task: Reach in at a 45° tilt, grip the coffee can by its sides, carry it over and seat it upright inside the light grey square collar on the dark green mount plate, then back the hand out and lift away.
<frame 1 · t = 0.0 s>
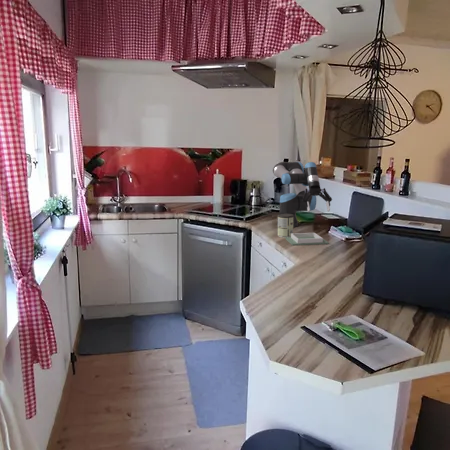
hand: (318, 211, 268), 15 cm above the worktop, tool tilted 35°, fingers open, 13 cm apart
mount plate: (306, 241, 250), on the worktop
coffee can: (285, 236, 266), on the worktop
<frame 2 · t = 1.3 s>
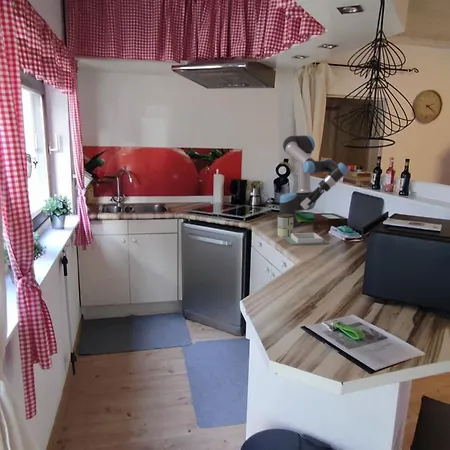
hand: (302, 207, 261), 19 cm above the worktop, tool tilted 45°, fingers open, 13 cm apart
nothing on the worktop moved.
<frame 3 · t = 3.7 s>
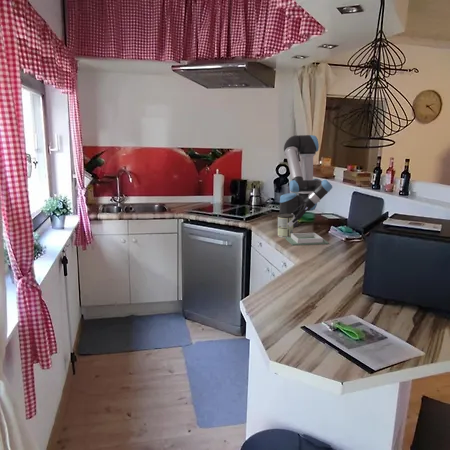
hand: (287, 223, 262), 8 cm above the worktop, tool tilted 45°, fingers open, 13 cm apart
nothing on the worktop moved.
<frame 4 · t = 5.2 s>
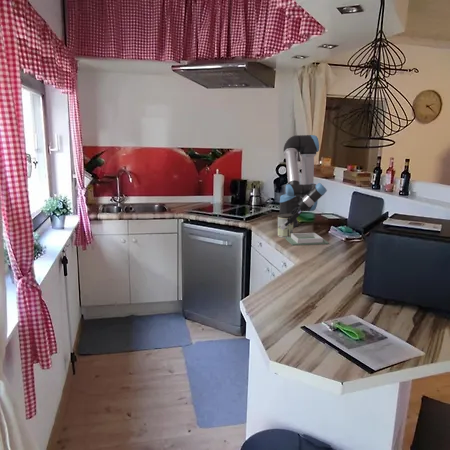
hand: (280, 227, 264), 6 cm above the worktop, tool tilted 45°, fingers closed on coffee can, 10 cm apart
coffee can: (285, 236, 265), on the worktop, touching gripper
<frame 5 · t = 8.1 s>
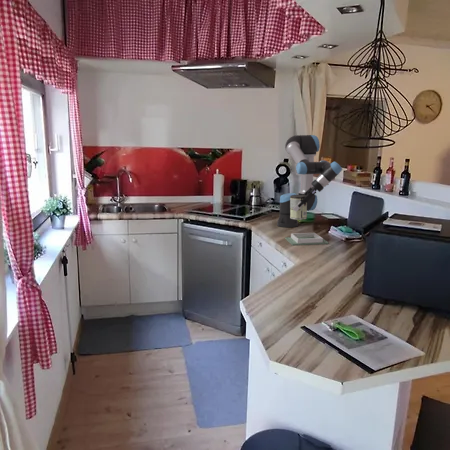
hand: (293, 209, 251), 20 cm above the worktop, tool tilted 45°, fingers closed on coffee can, 10 cm apart
coffee can: (298, 218, 252), point 14 cm above the worktop, touching gripper
when the fingers open (8 cm above the worktop, at t = 10.9 s): coffee can drops 1 cm, resting on mount plate.
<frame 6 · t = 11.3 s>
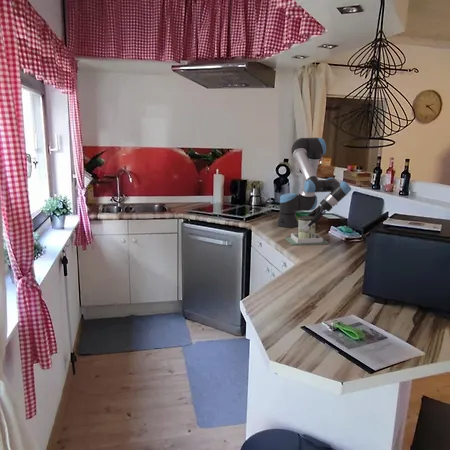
hand: (302, 227, 249), 9 cm above the worktop, tool tilted 45°, fingers open, 13 cm apart
coffee can: (306, 240, 250), point 1 cm above the worktop, touching mount plate
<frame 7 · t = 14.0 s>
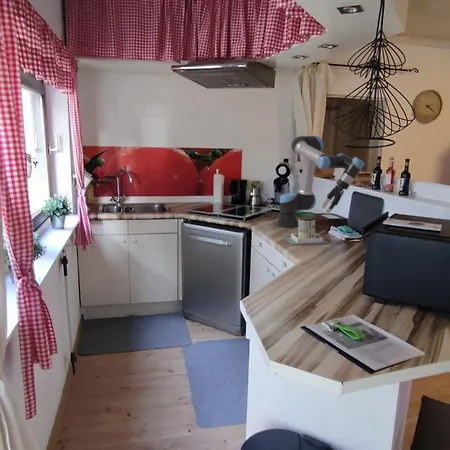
hand: (324, 210, 252), 18 cm above the worktop, tool tilted 30°, fingers open, 13 cm apart
nothing on the worktop moved.
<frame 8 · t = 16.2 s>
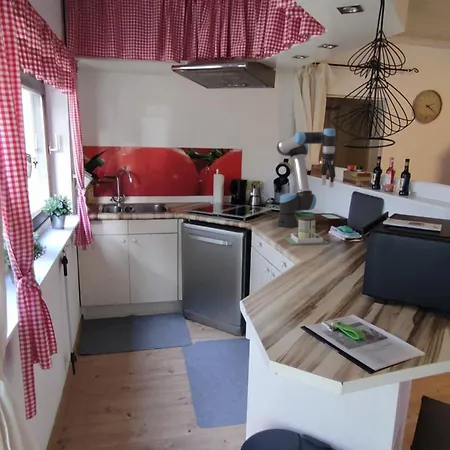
hand: (327, 186, 264), 32 cm above the worktop, tool pointing down, fingers open, 13 cm apart
nothing on the worktop moved.
at the end: coffee can 0.0 cm off-centre on the mount plate, point 0.8 cm above the mount plate's base; coffee can tilted 0°; the gripper is holding nothing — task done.
